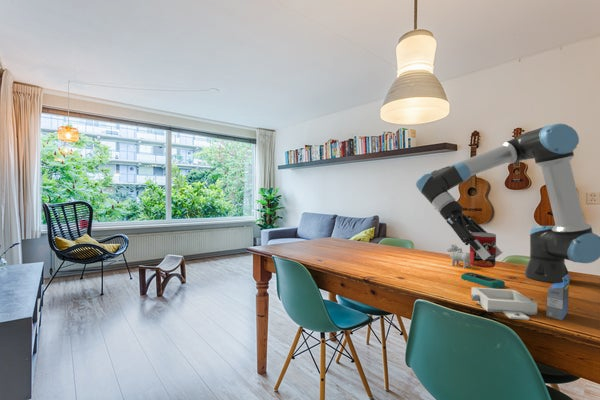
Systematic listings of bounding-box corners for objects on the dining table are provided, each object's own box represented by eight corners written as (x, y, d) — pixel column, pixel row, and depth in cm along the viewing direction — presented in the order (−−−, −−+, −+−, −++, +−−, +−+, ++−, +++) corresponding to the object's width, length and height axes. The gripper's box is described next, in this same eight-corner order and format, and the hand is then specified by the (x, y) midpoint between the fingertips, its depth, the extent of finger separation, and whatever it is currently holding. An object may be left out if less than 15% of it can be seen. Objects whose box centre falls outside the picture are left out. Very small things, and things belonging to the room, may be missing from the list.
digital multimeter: (471, 278, 131) (471, 271, 131) (505, 287, 117) (505, 280, 117) (459, 279, 128) (459, 273, 128) (493, 289, 114) (493, 282, 114)
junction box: (513, 296, 106) (514, 286, 106) (554, 322, 84) (554, 309, 84) (460, 292, 109) (461, 283, 109) (486, 316, 87) (486, 304, 87)
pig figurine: (450, 262, 160) (450, 243, 160) (473, 267, 149) (473, 246, 149) (444, 263, 158) (444, 243, 158) (467, 268, 147) (467, 247, 147)
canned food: (473, 267, 100) (473, 234, 99) (466, 261, 107) (467, 231, 107) (499, 268, 98) (500, 235, 97) (490, 263, 105) (491, 232, 105)
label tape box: (551, 309, 93) (552, 270, 93) (569, 313, 90) (569, 273, 90) (545, 316, 88) (546, 275, 88) (563, 321, 85) (564, 278, 84)
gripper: (455, 212, 121) (498, 259, 108) (424, 214, 109) (469, 266, 96) (468, 199, 116) (515, 247, 103) (438, 199, 104) (487, 253, 91)
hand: (493, 256), depth 100 cm, fingers closed on canned food, 8 cm apart
